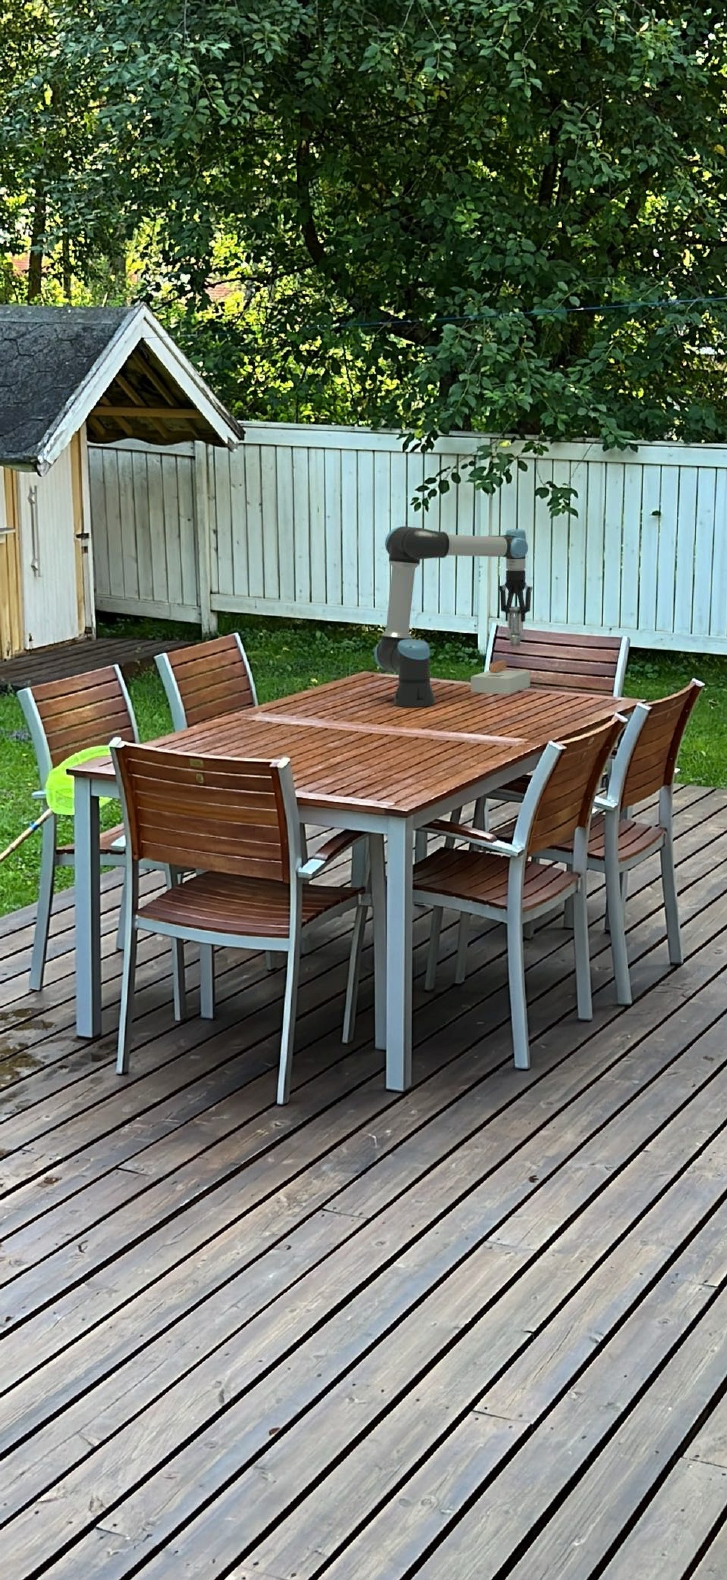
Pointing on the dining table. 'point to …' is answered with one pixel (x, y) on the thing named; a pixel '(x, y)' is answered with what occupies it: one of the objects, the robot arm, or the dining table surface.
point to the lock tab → (498, 666)
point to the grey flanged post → (514, 627)
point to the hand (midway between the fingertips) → (515, 629)
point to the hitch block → (500, 681)
